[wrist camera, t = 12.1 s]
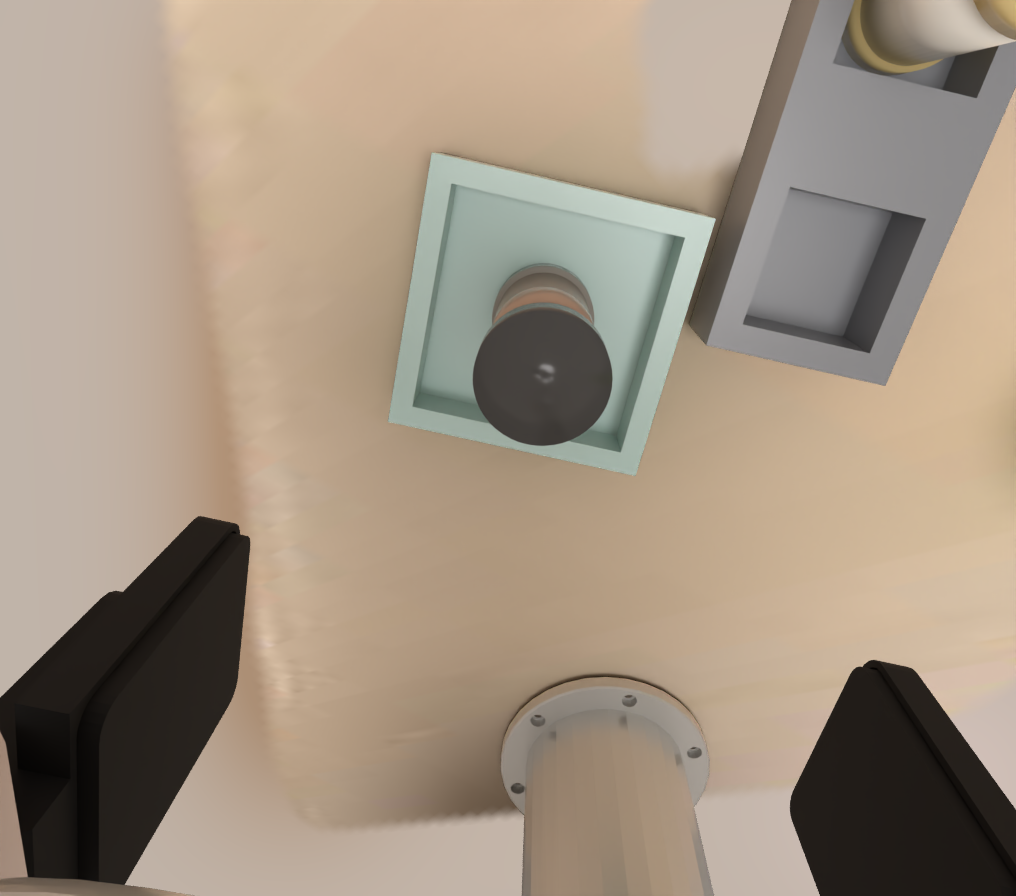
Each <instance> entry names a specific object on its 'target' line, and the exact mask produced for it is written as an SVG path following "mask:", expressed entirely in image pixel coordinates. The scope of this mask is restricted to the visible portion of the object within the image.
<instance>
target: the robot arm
mask: <svg viewBox="0 0 1016 896" xmlns="http://www.w3.org/2000/svg"><path fill="white" fill-rule="evenodd" d="M249 553H250V538H249V537H248V536H244V535H240V530H239V526H238V525H237V524H235V523H230V522H225V521H221V520H216V519H211V518H207V517H201V516H198V517H197V518H196V519H194V520H193V521H192V522H191V523H190V524H189V525H188V526H187V527H186V528H185V529H184V530H183V531H182V532H181V533H180V534H179V536H177V537H176V538H175V539H174V540H173V541H172V542H171V544H170V545H169V546H168V547H167V548H166V549H165V550H164V551H163V552H162V553H161V554H160V555H159V556H158V557H157V558H156V559H155V560H154V561H153V562H152V563H151V564H150V565H149V566H148V567H147V568H146V569H145V570H144V571H143V572H142V573H141V574H140V575H139V576H138V577H137V578H136V579H135V580H134V581H133V582H132V583H131V584H130V585H129V586H128V587H127V589H125V590H124V592H119V591H113V592H109V593H108V594H106V595H105V596H104V597H102V598H101V599H100V600H99V601H98V602H97V603H96V604H95V605H94V606H93V607H92V608H91V609H90V610H89V611H88V612H87V613H86V614H85V615H84V616H83V617H82V618H81V619H80V620H79V621H78V622H77V623H76V624H75V625H74V626H73V627H72V628H71V629H69V630H68V632H67V633H66V634H64V635H63V637H61V638H60V639H59V640H58V641H57V642H56V644H54V645H53V646H52V647H51V648H50V649H49V650H48V651H47V652H46V653H45V654H44V655H43V656H42V657H41V658H40V659H39V660H38V661H37V662H36V663H35V664H34V665H33V666H32V667H31V668H30V669H29V670H28V671H27V672H26V673H25V674H24V675H23V676H22V677H21V678H20V679H19V680H18V681H17V682H16V683H15V684H14V685H13V686H12V687H11V688H10V689H9V690H8V691H7V692H6V693H5V694H4V695H3V696H1V697H0V896H193V895H187V894H182V893H176V892H170V891H164V890H158V889H152V888H145V887H136V886H127V885H125V883H126V881H127V879H128V878H129V876H130V874H131V873H132V871H133V869H134V867H135V866H136V864H137V862H138V861H139V859H140V857H141V855H142V854H143V852H144V850H145V848H146V847H147V845H148V843H149V842H150V840H151V838H152V836H153V835H154V833H155V831H156V829H157V828H158V826H159V824H160V823H161V821H162V819H163V817H164V816H165V814H166V812H167V811H168V809H169V807H170V805H171V804H172V802H173V800H174V799H175V797H176V795H177V793H178V792H179V790H180V788H181V787H182V785H183V783H184V781H185V780H186V778H187V776H188V775H189V773H190V771H191V769H192V767H193V766H194V764H195V762H196V761H197V759H198V757H199V756H200V754H201V752H202V750H203V749H204V747H205V745H206V744H207V742H208V740H209V738H210V737H211V735H212V733H213V732H214V730H215V728H216V726H217V725H218V723H219V721H220V720H221V718H222V716H223V714H224V713H225V711H226V709H227V708H228V706H229V704H230V702H231V700H232V697H233V695H234V692H235V689H236V685H237V679H238V669H239V660H240V648H241V638H242V627H243V616H244V606H245V596H246V585H247V574H248V564H249ZM709 762H710V760H709V755H708V751H707V746H706V742H705V739H704V736H703V733H702V731H701V728H700V726H699V725H698V723H697V722H696V720H695V718H694V717H693V715H692V714H691V713H690V712H689V711H688V710H687V709H686V708H685V707H684V706H683V705H682V704H681V703H680V702H679V701H678V700H676V699H675V698H673V697H672V696H670V695H669V694H667V693H665V692H664V691H662V690H659V689H657V688H655V687H653V686H650V685H648V684H645V683H641V682H637V681H633V680H629V679H624V678H612V677H597V678H584V679H580V680H575V681H571V682H566V683H564V684H561V685H559V686H556V687H554V688H551V689H549V690H547V691H545V692H543V693H542V694H540V695H539V696H537V697H535V698H534V699H532V700H531V701H530V702H529V703H528V704H527V705H525V706H524V707H523V708H522V709H521V710H520V711H519V712H518V713H517V715H516V716H515V718H514V719H513V721H512V722H511V723H510V725H509V727H508V729H507V732H506V734H505V737H504V739H503V746H502V752H501V775H502V779H503V784H504V787H505V789H506V791H507V793H508V795H509V797H510V799H511V801H512V802H513V803H514V805H515V806H516V807H517V808H518V810H519V811H520V812H521V813H522V814H523V815H524V845H523V877H522V896H714V894H713V889H712V885H711V880H710V876H709V872H708V867H707V863H706V858H705V855H704V850H703V845H702V841H701V837H700V832H699V828H698V823H697V819H696V815H695V810H694V806H695V805H696V804H697V802H698V801H699V799H700V797H701V795H702V794H703V792H704V790H705V787H706V784H707V780H708V777H709ZM790 814H791V818H792V822H793V824H794V827H795V829H796V832H797V835H798V837H799V840H800V843H801V846H802V849H803V851H804V853H805V857H806V859H807V862H808V864H809V867H810V870H811V873H812V875H813V878H814V881H815V883H816V886H817V889H818V891H819V894H820V896H1016V810H1015V808H1014V807H1013V805H1012V804H1011V802H1010V801H1009V800H1008V798H1007V797H1006V796H1005V794H1004V793H1003V791H1002V790H1001V789H1000V787H999V786H998V785H997V783H996V782H995V780H994V779H993V778H992V776H991V775H990V773H989V772H988V771H987V769H986V768H985V767H984V765H983V764H982V762H981V761H980V760H979V758H978V757H977V755H976V754H975V753H974V751H973V750H972V749H971V747H970V746H969V744H968V743H967V742H966V740H965V739H964V737H963V736H962V735H961V733H960V732H959V731H958V729H957V728H956V726H955V725H954V724H953V722H952V721H951V720H950V718H949V717H948V715H947V714H946V713H945V711H944V710H943V708H942V707H941V706H940V704H939V703H938V702H937V700H936V699H935V697H934V696H933V695H932V693H931V692H930V690H929V689H928V688H927V686H926V685H925V684H924V682H923V681H922V679H921V678H920V677H919V675H918V674H917V673H916V672H915V671H914V670H913V669H911V668H909V667H905V666H900V665H896V664H891V663H886V662H881V661H877V660H871V661H868V662H867V663H866V664H864V666H863V667H856V668H855V669H854V670H853V671H852V673H851V674H850V676H849V678H848V680H847V682H846V684H845V686H844V688H843V690H842V692H841V694H840V696H839V699H838V701H837V703H836V705H835V707H834V709H833V711H832V713H831V715H830V717H829V719H828V721H827V723H826V725H825V727H824V729H823V731H822V733H821V735H820V737H819V739H818V741H817V743H816V745H815V748H814V750H813V752H812V754H811V756H810V758H809V760H808V762H807V764H806V766H805V768H804V770H803V772H802V774H801V776H800V778H799V780H798V782H797V784H796V786H795V788H794V790H793V793H792V796H791V801H790Z"/></svg>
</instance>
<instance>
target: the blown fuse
mask: <svg viewBox="0 0 1016 896" xmlns="http://www.w3.org/2000/svg"><path fill="white" fill-rule="evenodd" d="M612 381H613V377H612V367H611V362H610V359H609V355H608V352H607V349H606V346H605V343H604V341H603V339H602V337H601V335H600V333H599V332H598V330H597V329H596V328H595V326H594V309H593V305H592V301H591V298H590V295H589V293H588V291H587V289H586V287H585V285H584V284H583V282H582V281H581V280H580V279H579V278H578V277H577V276H576V275H575V274H574V273H573V272H571V271H569V270H568V269H566V268H564V267H562V266H559V265H555V264H550V263H538V264H532V265H528V266H526V267H523V268H521V269H519V270H518V271H516V272H515V273H513V274H512V275H511V276H510V277H509V278H508V279H507V280H506V281H505V282H504V284H503V285H502V287H501V288H500V290H499V293H498V295H497V297H496V300H495V304H494V307H493V313H492V326H491V327H490V329H489V330H488V331H487V333H486V335H485V336H484V338H483V340H482V343H481V345H480V348H479V351H478V354H477V357H476V360H475V364H474V369H473V389H474V394H475V398H476V401H477V403H478V406H479V408H480V410H481V412H482V413H483V415H484V416H485V418H486V419H487V420H488V421H489V423H490V424H491V425H492V426H493V427H494V428H495V429H497V430H498V431H499V432H501V433H502V434H503V435H505V436H507V437H509V438H510V439H513V440H515V441H517V442H521V443H524V444H528V445H535V446H549V445H556V444H561V443H564V442H567V441H570V440H572V439H574V438H576V437H578V436H580V435H581V434H583V433H584V432H586V431H587V430H588V429H589V428H590V427H592V426H593V425H594V423H595V422H596V421H597V420H598V419H599V417H600V416H601V415H602V413H603V412H604V410H605V408H606V406H607V404H608V401H609V398H610V395H611V390H612Z"/></svg>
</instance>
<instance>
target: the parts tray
mask: <svg viewBox="0 0 1016 896" xmlns="http://www.w3.org/2000/svg"><path fill="white" fill-rule="evenodd" d="M715 220H716V219H715V218H713V217H710V216H707V215H705V214H702V213H698V212H694V211H690V210H685V209H681V208H677V207H672V206H668V205H664V204H660V203H655V202H651V201H647V200H642V199H638V198H634V197H630V196H625V195H621V194H617V193H612V192H608V191H604V190H600V189H595V188H591V187H587V186H582V185H578V184H574V183H570V182H565V181H561V180H557V179H552V178H548V177H544V176H540V175H535V174H531V173H527V172H522V171H518V170H514V169H510V168H505V167H501V166H497V165H492V164H488V163H484V162H480V161H475V160H471V159H467V158H462V157H458V156H454V155H450V154H445V153H432V154H431V161H430V167H429V173H428V179H427V185H426V191H425V197H424V204H423V210H422V216H421V222H420V228H419V234H418V240H417V247H416V253H415V259H414V265H413V271H412V277H411V283H410V290H409V296H408V302H407V308H406V314H405V320H404V326H403V332H402V339H401V345H400V351H399V357H398V363H397V369H396V375H395V382H394V388H393V394H392V400H391V406H390V412H389V418H388V422H391V423H396V424H400V425H405V426H409V427H414V428H418V429H423V430H428V431H432V432H437V433H441V434H446V435H450V436H455V437H460V438H464V439H469V440H473V441H478V442H482V443H487V444H492V445H496V446H501V447H505V448H510V449H514V450H519V451H524V452H528V453H533V454H537V455H542V456H546V457H551V458H555V459H560V460H565V461H569V462H574V463H578V464H583V465H587V466H592V467H597V468H601V469H606V470H610V471H615V472H619V473H624V474H629V475H633V476H636V473H637V469H638V466H639V463H640V460H641V457H642V453H643V450H644V447H645V444H646V441H647V437H648V434H649V431H650V428H651V425H652V421H653V418H654V415H655V412H656V409H657V405H658V402H659V399H660V396H661V393H662V389H663V386H664V383H665V380H666V377H667V373H668V370H669V367H670V364H671V361H672V358H673V354H674V351H675V348H676V345H677V342H678V338H679V335H680V332H681V329H682V326H683V322H684V319H685V316H686V313H687V310H688V306H689V303H690V300H691V297H692V294H693V290H694V287H695V284H696V281H697V278H698V274H699V271H700V268H701V265H702V262H703V258H704V255H705V252H706V249H707V246H708V242H709V239H710V236H711V233H712V230H713V226H714V223H715ZM538 263H550V264H555V265H559V266H562V267H564V268H566V269H568V270H569V271H571V272H573V273H574V274H575V275H576V276H577V277H578V278H579V279H580V280H581V281H582V282H583V284H584V285H585V287H586V289H587V291H588V293H589V295H590V298H591V301H592V305H593V309H594V326H595V328H596V329H597V330H598V332H599V333H600V335H601V337H602V339H603V341H604V343H605V346H606V349H607V352H608V355H609V359H610V362H611V367H612V377H613V381H612V390H611V395H610V398H609V401H608V404H607V406H606V408H605V410H604V412H603V413H602V415H601V416H600V417H599V419H598V420H597V421H596V422H595V423H594V425H593V426H592V427H590V428H589V429H588V430H587V431H586V432H584V433H583V434H581V435H580V436H578V437H576V438H574V439H572V440H570V441H567V442H564V443H561V444H556V445H549V446H535V445H528V444H524V443H521V442H517V441H515V440H513V439H510V438H509V437H507V436H505V435H503V434H502V433H501V432H499V431H498V430H497V429H495V428H494V427H493V426H492V425H491V424H490V423H489V421H488V420H487V419H486V418H485V416H484V415H483V413H482V412H481V410H480V408H479V406H478V403H477V401H476V398H475V394H474V389H473V369H474V364H475V360H476V357H477V354H478V351H479V348H480V345H481V343H482V340H483V338H484V336H485V335H486V333H487V331H488V330H489V329H490V327H491V326H492V313H493V307H494V304H495V300H496V297H497V295H498V293H499V290H500V288H501V287H502V285H503V284H504V282H505V281H506V280H507V279H508V278H509V277H510V276H511V275H512V274H513V273H515V272H516V271H518V270H519V269H521V268H523V267H526V266H528V265H532V264H538Z"/></svg>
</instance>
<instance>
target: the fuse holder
mask: <svg viewBox="0 0 1016 896" xmlns="http://www.w3.org/2000/svg"><path fill="white" fill-rule="evenodd" d="M853 3H854V0H792V1H791V4H790V8H789V11H788V14H787V17H786V20H785V23H784V26H783V30H782V33H781V36H780V39H779V42H778V46H777V48H776V52H775V55H774V58H773V61H772V65H771V68H770V71H769V74H768V77H767V80H766V83H765V86H764V90H763V93H762V96H761V99H760V103H759V105H758V109H757V112H756V115H755V118H754V121H753V124H752V128H751V131H750V134H749V137H748V140H747V143H746V146H745V150H744V153H743V156H742V159H741V162H740V165H739V169H738V172H737V175H736V178H735V181H734V184H733V188H732V191H731V194H730V197H729V200H728V203H727V207H726V210H725V213H724V216H723V219H722V222H721V226H720V229H719V232H718V235H717V238H716V241H715V244H714V248H713V251H712V254H711V257H710V260H709V263H708V267H707V270H706V273H705V276H704V279H703V282H702V286H701V289H700V292H699V295H698V298H697V301H696V305H695V308H694V311H693V314H692V317H691V320H690V324H689V325H690V327H691V328H692V329H693V330H694V331H695V333H696V334H697V335H698V336H699V337H700V339H701V340H702V341H703V342H704V343H705V344H706V345H707V346H711V347H716V348H720V349H725V350H729V351H733V352H738V353H742V354H747V355H751V356H756V357H760V358H764V359H769V360H773V361H778V362H782V363H786V364H791V365H795V366H800V367H804V368H809V369H813V370H817V371H822V372H826V373H831V374H835V375H839V376H844V377H848V378H853V379H857V380H862V381H866V382H870V383H875V384H879V385H884V386H885V385H886V383H887V381H888V378H889V376H890V374H891V372H892V369H893V367H894V365H895V362H896V360H897V358H898V356H899V353H900V351H901V349H902V346H903V344H904V342H905V339H906V337H907V335H908V333H909V330H910V328H911V326H912V323H913V321H914V319H915V317H916V314H917V312H918V310H919V307H920V305H921V303H922V301H923V298H924V296H925V294H926V291H927V289H928V287H929V284H930V282H931V280H932V278H933V275H934V273H935V271H936V268H937V266H938V264H939V262H940V259H941V257H942V255H943V252H944V250H945V248H946V245H947V243H948V241H949V239H950V236H951V234H952V232H953V229H954V227H955V225H956V223H957V220H958V218H959V216H960V213H961V211H962V209H963V207H964V204H965V202H966V200H967V197H968V195H969V193H970V190H971V188H972V186H973V184H974V181H975V179H976V177H977V174H978V172H979V170H980V168H981V165H982V163H983V161H984V158H985V156H986V154H987V151H988V149H989V147H990V145H991V142H992V140H993V138H994V135H995V133H996V131H997V129H998V126H999V124H1000V122H1001V119H1002V117H1003V115H1004V113H1005V110H1006V108H1007V106H1008V103H1009V101H1010V99H1011V96H1012V94H1013V92H1014V90H1015V87H1016V41H1015V42H1011V43H1007V44H1002V45H998V46H994V47H990V48H986V49H981V50H977V51H973V52H969V53H965V54H961V55H956V56H952V57H948V58H944V59H942V60H941V61H939V62H938V63H936V64H934V65H932V66H930V67H927V68H925V69H921V70H917V71H913V72H909V73H904V74H900V75H892V76H883V75H878V74H874V73H871V72H868V71H866V70H864V69H863V68H861V67H860V66H859V65H857V64H856V63H855V62H854V61H853V60H852V58H851V57H850V56H849V54H848V53H847V51H846V49H845V47H844V44H843V41H842V35H843V32H844V29H845V26H846V23H847V21H848V18H849V15H850V12H851V9H852V6H853Z"/></svg>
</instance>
